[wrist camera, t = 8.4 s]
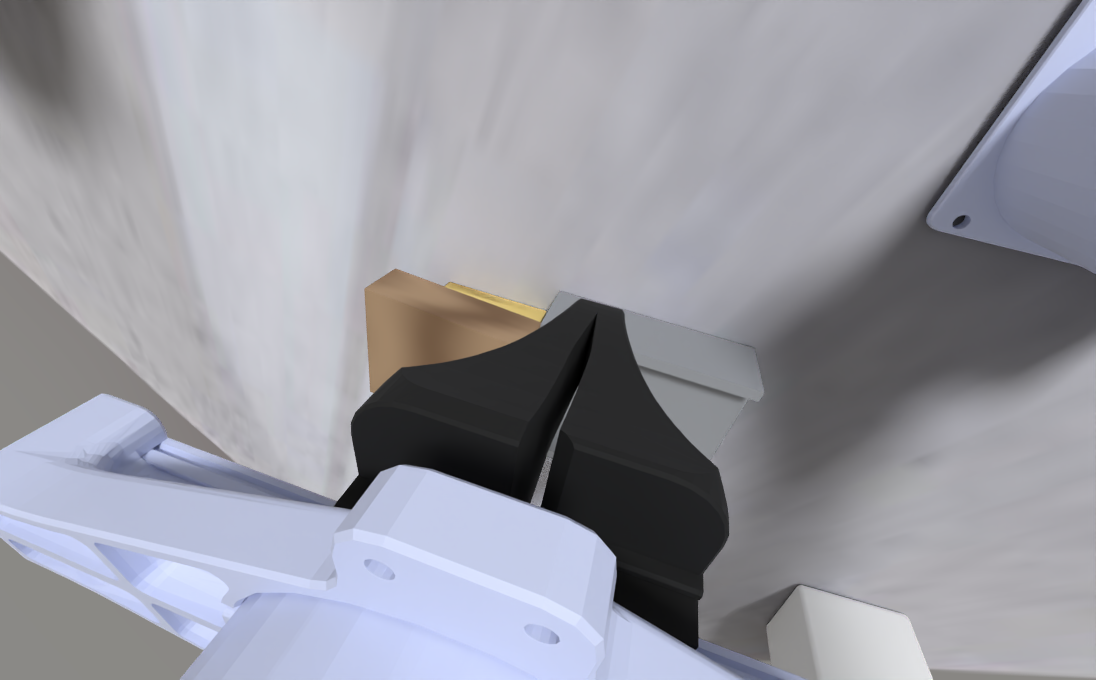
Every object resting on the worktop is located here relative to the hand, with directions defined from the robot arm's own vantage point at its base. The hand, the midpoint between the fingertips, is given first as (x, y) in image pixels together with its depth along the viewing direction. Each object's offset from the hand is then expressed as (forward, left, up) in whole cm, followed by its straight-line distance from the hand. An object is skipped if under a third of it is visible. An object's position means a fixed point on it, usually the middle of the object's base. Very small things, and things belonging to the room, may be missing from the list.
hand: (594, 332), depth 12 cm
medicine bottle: (-23, +25, -10) cm, 35 cm away
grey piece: (-3, +9, -9) cm, 13 cm away
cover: (+7, +8, -7) cm, 13 cm away
